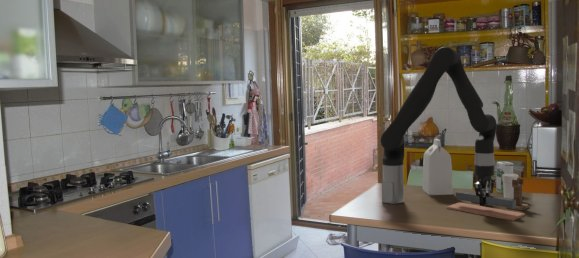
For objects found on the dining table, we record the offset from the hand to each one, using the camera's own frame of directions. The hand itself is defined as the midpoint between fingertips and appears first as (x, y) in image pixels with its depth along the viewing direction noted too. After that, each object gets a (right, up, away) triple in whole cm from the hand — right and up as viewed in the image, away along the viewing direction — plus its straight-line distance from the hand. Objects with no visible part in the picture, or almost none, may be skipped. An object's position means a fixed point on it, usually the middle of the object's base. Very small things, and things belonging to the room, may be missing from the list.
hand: (484, 205), depth 195 cm
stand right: (+16, -2, +5) cm, 17 cm away
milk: (-7, 0, +39) cm, 40 cm away
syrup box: (+24, +1, +34) cm, 41 cm away
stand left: (+5, -1, +17) cm, 18 cm away
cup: (+20, -1, +20) cm, 28 cm away
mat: (0, -3, 0) cm, 3 cm away
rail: (0, +1, 0) cm, 1 cm away
